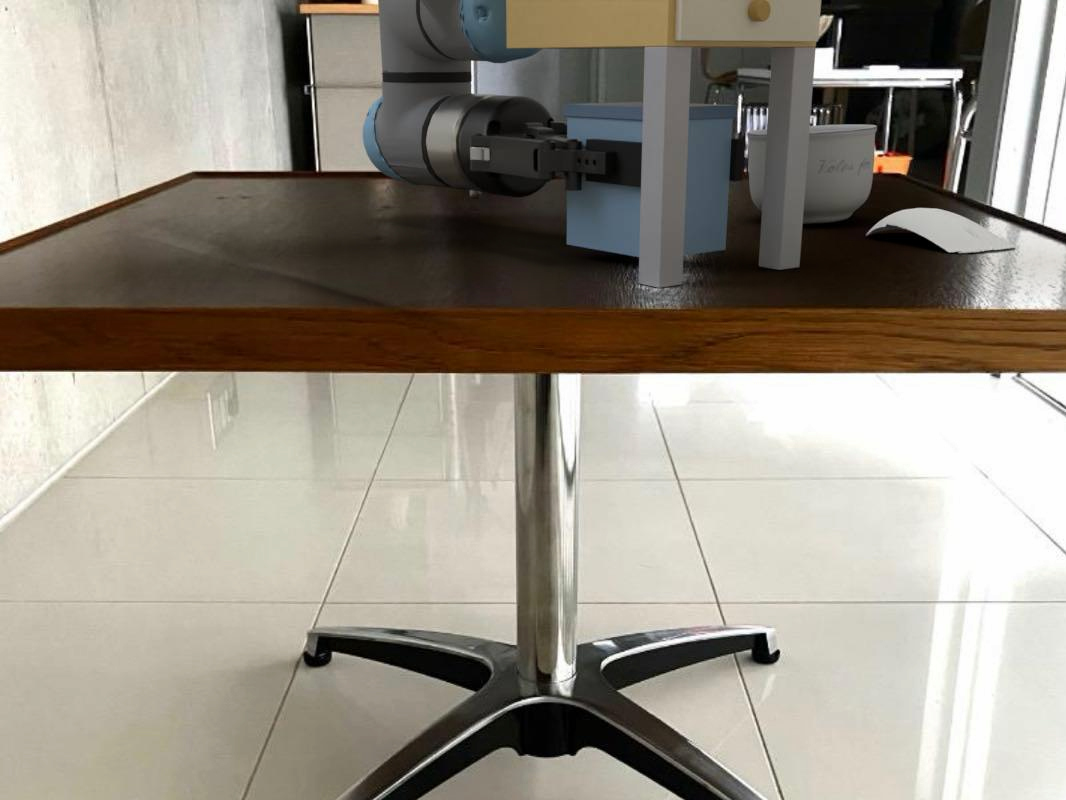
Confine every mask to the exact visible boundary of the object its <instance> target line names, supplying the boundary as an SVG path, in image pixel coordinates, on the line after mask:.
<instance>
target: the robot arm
mask: <svg viewBox="0 0 1066 800" xmlns="http://www.w3.org/2000/svg"><path fill="white" fill-rule="evenodd" d="M377 5H378V23H379V37H380V39H379V40H380V55H381V56H380V57H381V70H382V72H381V76H382V81H381V95H382V96H380V97H378V98H377V99H376V100H374V102H373V103H372V104H371V106H370V107H369V108H368V112H367V113H366V117H365V119H364V123H363V125H362V142H363V146H364V150H365V152H366V155H367V157H368V159H369V160H370V162H371V164H372V165H373V166H374V168H376V170H378V171H379V172H381V173H382V174H383V175H385V176H387V177H389V178H390V179H396V180H399V181H403V182H404V183H409V184H411V185H412V186H427V187H437V188H445V189H455V190H464V191H469V197H470V198H471V199H473V200H479V199H480V198H481V196H482V193H487V194H489V195H494V196H495V195H496V196H503V197H509V198H524V197H529V196H532V195H533V194H535V193H537V192H539V191H540V190H541V189H542V188H543V187H545V185H547V183H548V182H551V180H556V177H558V178H561V179H564V191H567V190H568V191H578V190H582V173H586V181H590V182H599V183H608V184H617V185H625V186H634V187H641V169H642V142H630V141H616V140H603V139H586V149H582V141H579V140H577V139H567V121H555V119H554V118H553V115H551V112H550V111H549V110H548V109H547V108H546V107H545V106H544V105H543V104H542V103H541V102H540V101H538V100H536V99H534V98H532V97H529V96H525V95H504V94H503V95H502V94H501V95H500V94H491V93H490V94H489V93H472V80H473V79H472V78H473V75H472V74H473V73H472V62H488V63H492V64H506V63H509V62H514V61H518V60H522V59H527V58H530V57H533V56H534V55H536V54H538V53H540V52H541V51H542V50H543V49H507V31H506V0H377ZM745 141H746V139H745V138H738V137H737V138H736V137H731V156H730V175H729V182H742V181H743V177H744V174H743V173H744V158H745Z"/></svg>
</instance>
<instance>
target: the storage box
mask: <svg viewBox="0 0 1066 800" xmlns="http://www.w3.org/2000/svg"><path fill="white" fill-rule="evenodd" d="M562 109H563V110H562V111H563V112H562V115H563V117H566V118H567V119H566V122H567V139H577V140H579V141H582V149H586V139H603V140H616V141H630V142H642V131H643V101H624V102H623V101H621V102H619V101H617V102H587V103H586V102H584V103H564V104H563V107H562ZM737 118H738V104H717V103H716V104H715V103H714V104H713V103H691V102H689V125H688V150H687V176H686V201H685V227H684V253H683V256H689V255H690V256H691V255H697V254H698V255H699V254H705V253H712V252H720V251H721V252H722V251H726V249H727V231H728V230H727V229H728V211H729V195H730V181H729V175H730V156H731V138H733V137H732V136H733V135H732V134H733V119H737ZM640 208H641V187H634V186H625V185H617V184H608V183H599V182H590V181H586V173H582V190H578V191H568V190H566V245H567V246H572V247H579V248H583V249H589V250H594V251H601V252H607V253H612V254H616V255H617V254H618V255H623V256H628V257H635V258H639V246H640Z"/></svg>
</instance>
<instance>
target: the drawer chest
mask: <svg viewBox="0 0 1066 800" xmlns="http://www.w3.org/2000/svg"><path fill="white" fill-rule="evenodd" d="M821 8H822V0H506V31H507V49H542V50H544V49H545V50H549V49H550V50H552V49H553V50H555V49H556V50H559V49H560V50H563V49H564V50H566V49H567V50H585V49H586V50H605V49H606V50H611V49H612V50H644V56H643V57H644V60H643V61H644V62H643V92H642V93H643V96H642V99H643V101H642V102H643V131H642V169H641V208H640V246H639V257H638V284H639V285H643V286H647V287H648V286H649V287H654V288H658V289H661V288H669V287H674V286H675V287H676V286H681V285H683V279H684V278H683V277H684V275H683V274H684V255H683V253H684V227H685V201H686V176H687V150H688V125H689V103H690V97H691V95H690V94H691V74H692V73H691V72H692V71H691V70H692V49H746V48H747V49H753V48H754V49H756V48H757V49H758V48H771V57H770V72H769V74H770V75H769V90H768V104H767V105H768V106H767V121H766V129H767V137H766V153H765V169H764V185H763V202H762V211H761V218H760V219H761V221H760V234H759V251H758V252H759V254H758V267H759V268H765V269H770V270H776V271H783V270H790V269H796V268H800V265H801V264H800V263H801V252H802V250H801V249H802V240H803V239H802V238H803V237H802V236H803V225H804V224H803V212H804V198H805V184H806V171H807V157H808V144H809V130H810V126H811V117H812V101H813V91H814V90H813V88H814V75H815V62H816V61H815V60H816V47H817V43H818V42H819V37H820V22H821V21H820V20H821V10H822V9H821Z"/></svg>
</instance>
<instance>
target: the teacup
mask: <svg viewBox="0 0 1066 800" xmlns="http://www.w3.org/2000/svg"><path fill="white" fill-rule="evenodd" d="M877 130H878V125H875V124H865V123H864V124H862V123H861V124H855V123H853V124H851V123H850V124H849V123H848V124H845V123H844V124H822V125H819V124H818V125H810V130H809V144H808V157H807V171H806V184H805V198H804V212H803V225H808V224H809V225H810V224H825V223H826V224H827V223H835V222H842V221H844V220H847V219H849V218H850V217H852V216H853V213H854V212H855V211H857V210H858V209H859V208H861V206H863V205H864V203H865V202H866V201H867V200H868V199H869V196H870V194H871V190H872V186H873V180H874V179H873V178H874V167H875V147H876V146H875V145H876V133H877ZM746 137H747V139H748V182H749V184H748V185H749V194H750V197H751V201H752V203H753V205H754V206H755V207H756V208H757V209H758V210H759V211H761V212H762V202H763V185H764V169H765V153H766V137H767V128H764V129H754V130H749V131H747V133H746Z"/></svg>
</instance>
